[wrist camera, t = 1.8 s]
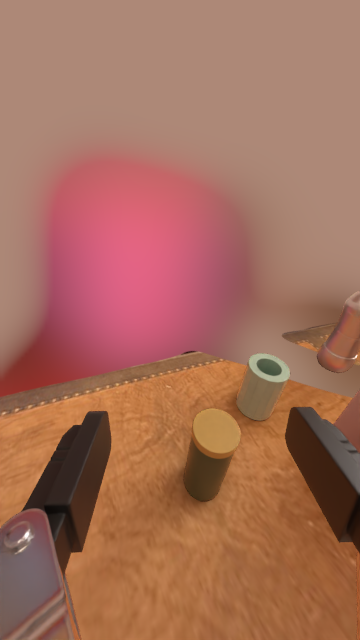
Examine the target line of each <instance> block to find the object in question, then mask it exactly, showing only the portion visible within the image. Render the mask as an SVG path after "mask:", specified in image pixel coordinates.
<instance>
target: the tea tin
mask: <svg viewBox="0 0 360 640" xmlns="http://www.w3.org/2000/svg"><path fill="white" fill-rule="evenodd" d="M240 437H241V434H240V429H239V426H238V424H237V422H236V421H235V419H234V418H233V417H232V416H231V415H230V414H228V413H227V412H225V411H223V410H220V409H215V408H209V409H205V410H203V411H201V412H200V413H198V414H197V416H196V417H195V419H194V421H193V426H192V436H191V442H190V447H189V452H188V457H187V463H186V468H185V473H184V484H185V487H186V489H187V491H188V492H189V494H190V495H191V496H192V497H193V498H195V499H197V500H199V501H209V500H211V499H213V498H214V497H215V496H216V495H217V494H218V492H219V489H220V487H221V484H222V482H223V479H224V477H225V474H226V472H227V469H228V466H229V464H230V461H231V459H232V456H233V454H234V452H235V451H236V449H237V447H238V444H239V442H240Z"/></svg>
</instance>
